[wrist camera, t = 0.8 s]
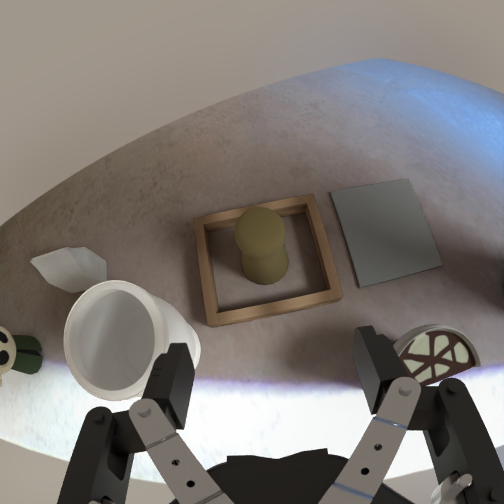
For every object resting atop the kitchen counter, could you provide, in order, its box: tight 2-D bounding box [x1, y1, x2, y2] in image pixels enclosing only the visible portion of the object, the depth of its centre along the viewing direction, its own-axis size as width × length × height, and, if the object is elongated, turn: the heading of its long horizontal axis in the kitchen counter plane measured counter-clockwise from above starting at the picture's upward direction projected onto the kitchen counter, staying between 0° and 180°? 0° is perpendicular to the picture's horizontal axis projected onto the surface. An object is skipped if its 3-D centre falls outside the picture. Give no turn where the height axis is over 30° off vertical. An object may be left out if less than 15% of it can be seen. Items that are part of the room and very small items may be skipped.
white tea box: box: [30, 247, 107, 293], centre depth 37 cm, size 4×7×10 cm, turn 102°
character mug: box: [0, 326, 43, 387], centre depth 32 cm, size 11×7×13 cm, turn 14°
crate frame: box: [193, 194, 343, 328], centre depth 38 cm, size 16×14×2 cm
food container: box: [393, 324, 482, 386], centre depth 29 cm, size 12×6×10 cm, turn 98°
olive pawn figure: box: [234, 207, 289, 285], centre depth 34 cm, size 6×6×11 cm
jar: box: [64, 280, 201, 401], centre depth 30 cm, size 11×10×15 cm
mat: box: [330, 179, 443, 288], centre depth 39 cm, size 13×14×1 cm
